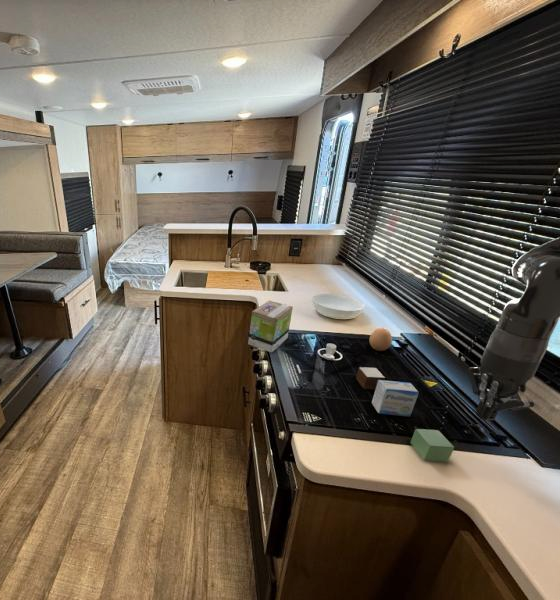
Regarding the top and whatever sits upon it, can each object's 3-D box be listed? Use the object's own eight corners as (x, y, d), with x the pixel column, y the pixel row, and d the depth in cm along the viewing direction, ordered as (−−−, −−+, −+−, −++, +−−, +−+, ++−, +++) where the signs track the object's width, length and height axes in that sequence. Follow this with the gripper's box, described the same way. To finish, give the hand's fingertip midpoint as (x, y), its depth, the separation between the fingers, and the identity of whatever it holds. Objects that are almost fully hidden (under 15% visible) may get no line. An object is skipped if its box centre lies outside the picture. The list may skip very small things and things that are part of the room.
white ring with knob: (330, 364, 106) (332, 354, 105) (311, 353, 113) (313, 343, 111) (347, 357, 110) (349, 348, 108) (327, 347, 116) (329, 338, 115)
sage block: (431, 445, 74) (438, 430, 72) (447, 463, 70) (454, 447, 68) (409, 444, 75) (415, 428, 73) (423, 461, 70) (430, 445, 68)
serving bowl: (361, 328, 130) (365, 314, 127) (307, 318, 140) (310, 305, 137) (360, 311, 146) (364, 297, 143) (312, 303, 156) (314, 290, 153)
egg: (391, 350, 113) (397, 328, 110) (384, 357, 110) (391, 334, 106) (371, 343, 118) (377, 322, 115) (364, 349, 115) (369, 327, 111)
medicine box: (377, 414, 84) (385, 389, 81) (370, 403, 88) (378, 378, 85) (410, 418, 82) (419, 392, 79) (401, 406, 86) (410, 381, 83)
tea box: (272, 354, 113) (277, 318, 107) (247, 345, 119) (250, 310, 114) (288, 339, 123) (293, 305, 117) (264, 331, 129) (268, 299, 124)
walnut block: (372, 381, 97) (375, 367, 96) (380, 391, 93) (385, 377, 91) (355, 380, 98) (358, 367, 96) (363, 390, 93) (367, 376, 91)
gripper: (572, 370, 55) (532, 442, 61) (504, 335, 67) (477, 398, 74) (524, 369, 56) (490, 440, 62) (466, 334, 68) (442, 397, 75)
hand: (483, 417), depth 68 cm, fingers closed
